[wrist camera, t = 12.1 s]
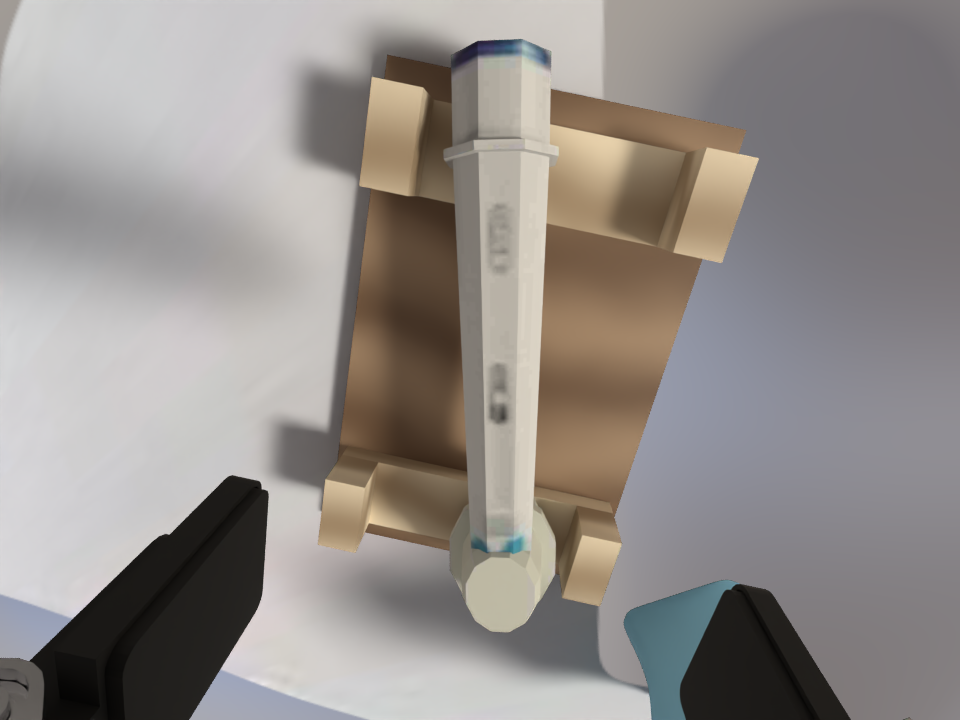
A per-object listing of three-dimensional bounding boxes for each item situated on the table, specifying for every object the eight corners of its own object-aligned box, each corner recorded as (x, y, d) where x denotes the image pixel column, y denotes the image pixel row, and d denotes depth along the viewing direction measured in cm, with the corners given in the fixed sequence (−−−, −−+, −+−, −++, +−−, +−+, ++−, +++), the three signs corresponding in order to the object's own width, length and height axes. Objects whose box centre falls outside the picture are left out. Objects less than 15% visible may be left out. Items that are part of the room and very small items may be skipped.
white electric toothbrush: (577, 32, 17) (560, 680, 21) (560, 99, 23) (550, 583, 28) (423, 38, 17) (438, 673, 22) (449, 102, 24) (457, 579, 28)
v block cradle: (392, 60, 23) (363, 29, 19) (736, 133, 23) (787, 118, 18) (335, 514, 31) (306, 565, 26) (589, 569, 31) (601, 630, 26)
